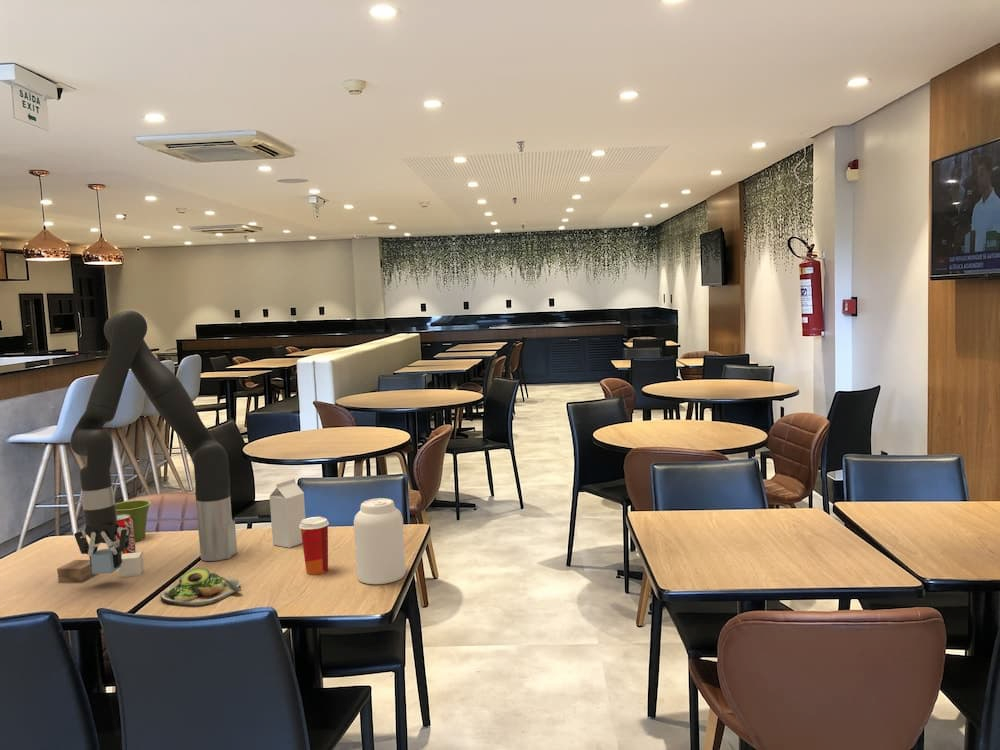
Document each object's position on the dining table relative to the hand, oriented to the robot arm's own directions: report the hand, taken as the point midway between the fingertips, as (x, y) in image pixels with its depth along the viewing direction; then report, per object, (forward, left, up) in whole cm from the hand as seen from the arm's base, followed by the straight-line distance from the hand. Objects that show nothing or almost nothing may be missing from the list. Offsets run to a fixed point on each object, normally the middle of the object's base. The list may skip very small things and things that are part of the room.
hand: (106, 567), depth 203 cm
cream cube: (-2, -8, -5) cm, 10 cm away
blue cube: (0, 0, -1) cm, 1 cm away
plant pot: (+14, -39, -5) cm, 42 cm away
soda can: (+8, -22, -5) cm, 24 cm away
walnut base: (+11, -6, -5) cm, 14 cm away
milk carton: (-39, -30, -5) cm, 50 cm away
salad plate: (-28, +8, -5) cm, 30 cm away
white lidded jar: (-73, 0, -5) cm, 73 cm away
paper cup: (-54, -5, -5) cm, 55 cm away
